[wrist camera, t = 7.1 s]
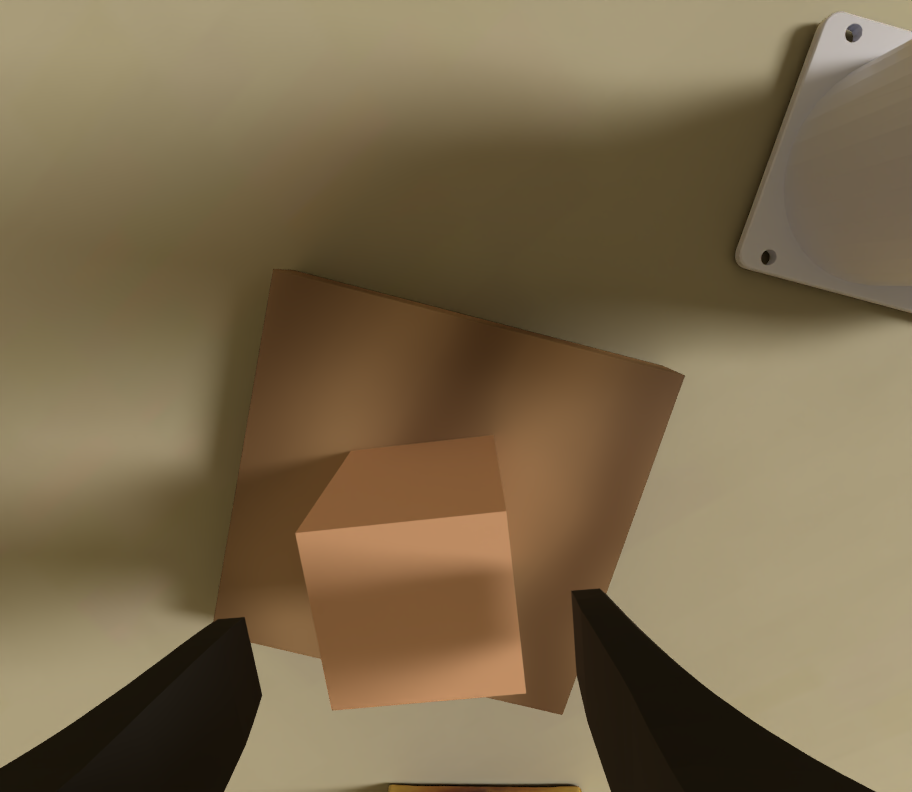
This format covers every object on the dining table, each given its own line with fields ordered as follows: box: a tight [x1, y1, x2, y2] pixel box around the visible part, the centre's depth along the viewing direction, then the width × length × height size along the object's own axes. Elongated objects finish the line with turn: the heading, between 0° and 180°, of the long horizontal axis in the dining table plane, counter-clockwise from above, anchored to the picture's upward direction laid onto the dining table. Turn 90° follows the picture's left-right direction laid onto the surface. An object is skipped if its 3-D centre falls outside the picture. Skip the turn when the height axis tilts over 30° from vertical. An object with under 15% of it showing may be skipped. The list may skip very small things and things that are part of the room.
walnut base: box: [213, 269, 685, 715], centre depth 19 cm, size 14×14×2 cm
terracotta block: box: [295, 435, 526, 710], centre depth 15 cm, size 5×5×6 cm
